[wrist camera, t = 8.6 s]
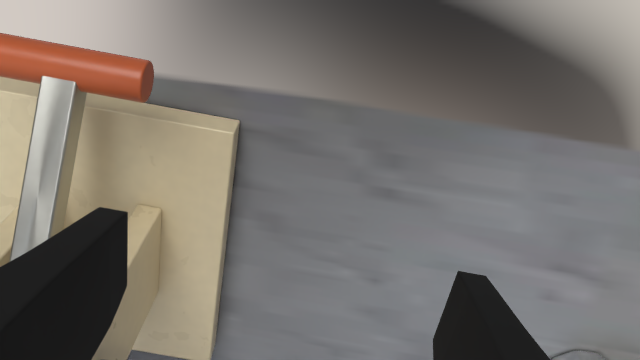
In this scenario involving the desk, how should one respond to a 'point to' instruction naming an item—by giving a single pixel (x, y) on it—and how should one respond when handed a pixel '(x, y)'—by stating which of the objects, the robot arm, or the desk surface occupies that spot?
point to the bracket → (141, 210)
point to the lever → (61, 121)
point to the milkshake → (579, 356)
